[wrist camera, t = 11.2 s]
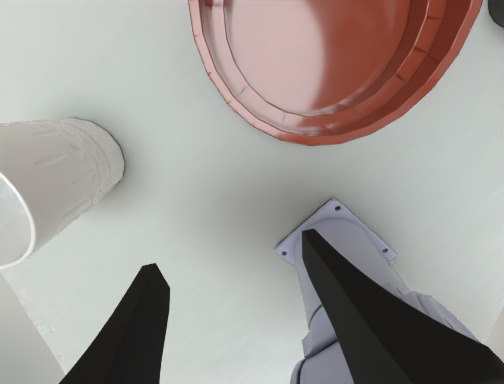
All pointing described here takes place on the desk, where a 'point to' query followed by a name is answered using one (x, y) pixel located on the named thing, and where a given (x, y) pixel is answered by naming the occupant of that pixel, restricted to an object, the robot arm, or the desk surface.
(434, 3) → the bowl
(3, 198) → the white cup
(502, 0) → the tulip
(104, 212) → the desk surface
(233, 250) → the desk surface
